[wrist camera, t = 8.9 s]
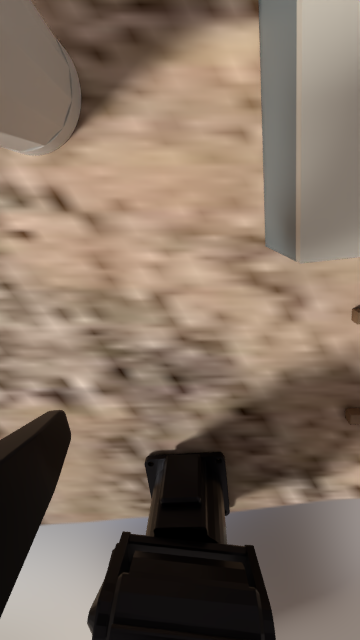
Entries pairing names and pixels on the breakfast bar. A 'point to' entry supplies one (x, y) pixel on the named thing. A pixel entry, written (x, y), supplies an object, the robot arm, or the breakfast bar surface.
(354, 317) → the coin stand
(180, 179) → the breakfast bar surface
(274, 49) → the box
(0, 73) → the cup
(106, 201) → the breakfast bar surface
